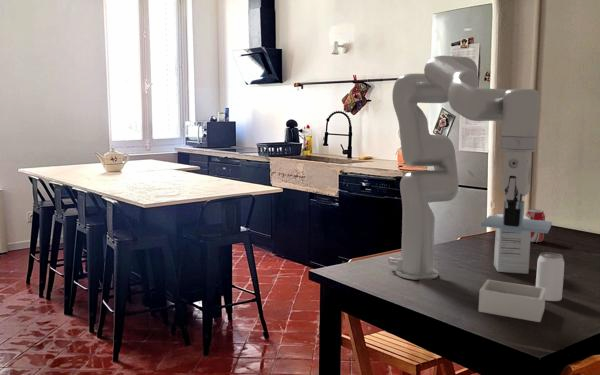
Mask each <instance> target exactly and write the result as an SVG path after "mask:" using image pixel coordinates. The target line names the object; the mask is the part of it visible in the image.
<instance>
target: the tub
mask: <svg viewBox="0 0 600 375" xmlns="http://www.w3.org/2000/svg"><path fill="white" fill-rule="evenodd" d="M502 292H507V293H502ZM478 293H479V295H478V311H477V312H480V313H485V314H490V315H496V316H503V317H509V318H512V319H519V320H525V321H531V322H536V323H541V322H542V318H543V316H544V312H545V307H546V306H545V305H546V300H545V295H546V288H543V287H536V285H528V284H520V283H514V282H509V281H508V282H507V281H500V280H495V279H494V280H493V279H489V278H488V279H486V280H485V282H484V283H483V284H482V286H481V287H480V289H479V291H478ZM527 296H528V297H527Z"/></svg>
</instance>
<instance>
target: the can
mask: <svg viewBox="0 0 600 375" xmlns="http://www.w3.org/2000/svg"><path fill="white" fill-rule="evenodd" d="M564 272H565V260H564V255H563V254H561V253H556V252H555V253H554V252H547V251H546V252H540V253H539V256H538V257H537V265H536V276H535V277H536V278H535V286H536V287H543V288H546V295H545V301H548V302H560V301H562V299H563V288H564V274H565V273H564Z"/></svg>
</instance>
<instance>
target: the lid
mask: <svg viewBox="0 0 600 375" xmlns="http://www.w3.org/2000/svg"><path fill="white" fill-rule="evenodd" d="M505 208H506V199H505V200H504V202H503V213H502V214H503V217H500V216H496V215H488V216H487V217H486V218H485V219H484V220H483V221H482V222H481V224H480V227H481V228H482V227H484V228H492V229H496V228H501V229H502V231H504V232H513V233H521V232H522V231H529V232H538V233H544V234H549V231H550V230H551V228H552V224H553V221H550V220H545V221H541V220H530V219H523V217H524V215H525V213H524V212H525V200H522V201H519V209H520V220H519V226H518V227H515V226H506V225H504V216H505Z"/></svg>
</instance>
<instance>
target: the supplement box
mask: <svg viewBox="0 0 600 375" xmlns="http://www.w3.org/2000/svg"><path fill="white" fill-rule="evenodd" d="M495 216H500V217H503V213H501V214H500V213H496V214H495ZM523 219H529V218H528V217H527V216H526V214H524V217H523ZM494 239H495V240H494V250H493V251H494V254H493V256H494V257H493V267H494V268H495V269H496V271H497V272H499V273H512V274H526V275H529V270H530V255H531V254H530V253H531V242H530V239H531V232H529V231H522V232H521V233H513V232H504V231H502V229H501V228H495V238H494Z"/></svg>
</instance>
